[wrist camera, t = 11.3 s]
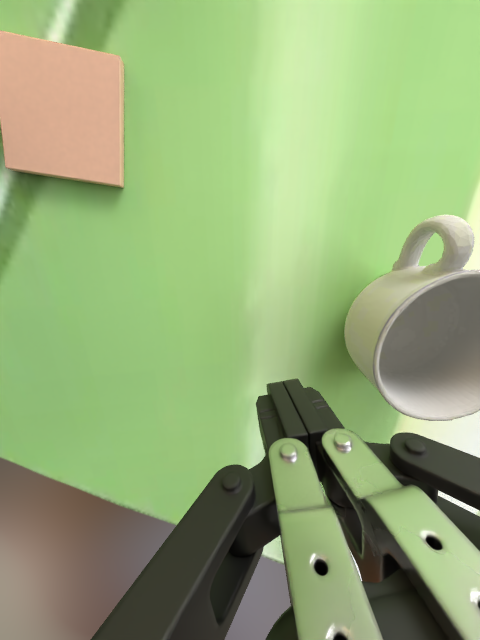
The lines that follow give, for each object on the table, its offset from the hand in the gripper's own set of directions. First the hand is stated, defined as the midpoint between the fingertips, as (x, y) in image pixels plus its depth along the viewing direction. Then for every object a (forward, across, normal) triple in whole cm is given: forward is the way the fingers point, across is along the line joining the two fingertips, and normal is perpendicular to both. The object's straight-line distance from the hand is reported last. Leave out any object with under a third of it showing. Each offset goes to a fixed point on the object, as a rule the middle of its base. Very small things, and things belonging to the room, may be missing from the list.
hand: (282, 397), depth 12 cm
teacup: (+11, -13, 0) cm, 17 cm away
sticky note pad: (+11, +11, -17) cm, 23 cm away
